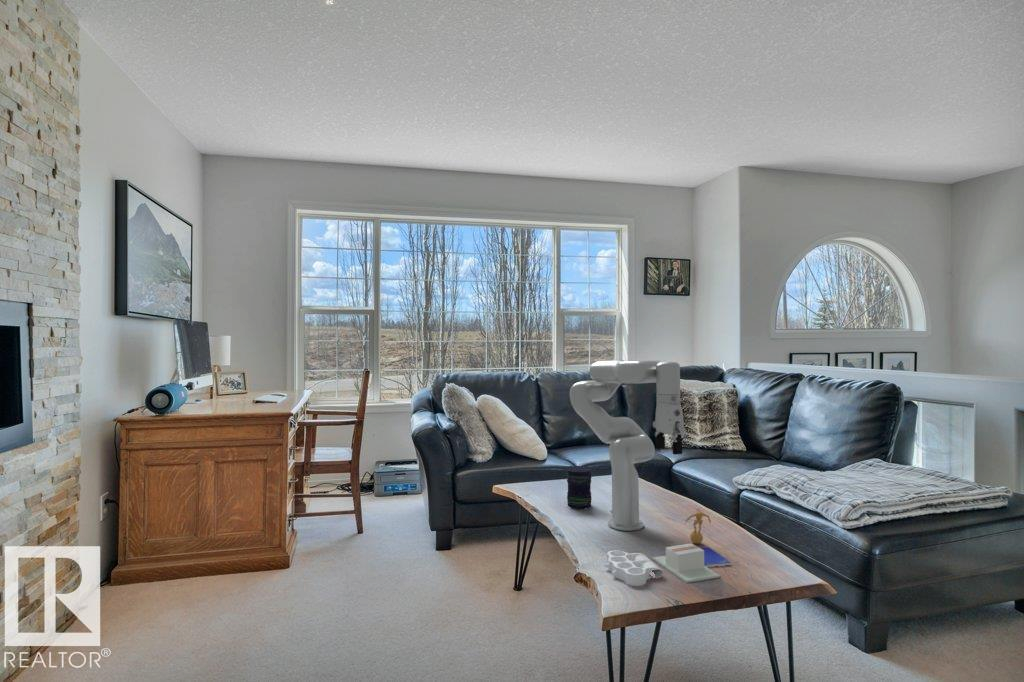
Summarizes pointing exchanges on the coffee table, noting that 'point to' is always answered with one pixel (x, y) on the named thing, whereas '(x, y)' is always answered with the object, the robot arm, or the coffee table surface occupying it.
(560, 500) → the coffee table surface
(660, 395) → the robot arm
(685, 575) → the mat
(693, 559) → the card box
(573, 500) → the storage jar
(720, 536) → the coffee table surface
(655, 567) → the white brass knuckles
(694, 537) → the figurine
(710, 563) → the hard drive
